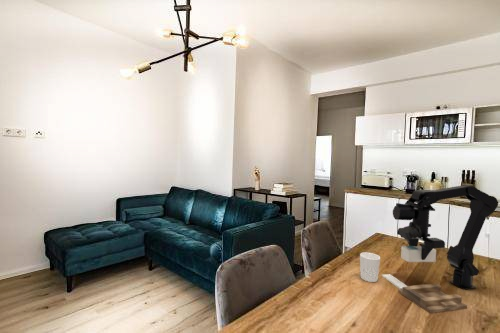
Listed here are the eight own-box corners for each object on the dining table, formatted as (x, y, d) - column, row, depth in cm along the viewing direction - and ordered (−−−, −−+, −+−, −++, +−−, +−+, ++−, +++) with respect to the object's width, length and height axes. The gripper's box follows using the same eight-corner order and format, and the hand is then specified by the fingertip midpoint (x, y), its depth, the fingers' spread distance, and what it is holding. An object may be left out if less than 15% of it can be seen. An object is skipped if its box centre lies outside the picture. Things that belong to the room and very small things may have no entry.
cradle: (431, 288, 107) (431, 281, 107) (466, 308, 93) (467, 300, 93) (398, 291, 103) (398, 284, 103) (430, 313, 90) (430, 304, 90)
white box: (427, 257, 114) (427, 245, 114) (435, 261, 109) (436, 249, 109) (400, 257, 113) (401, 245, 112) (408, 262, 108) (409, 249, 108)
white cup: (367, 283, 109) (368, 260, 109) (355, 275, 117) (356, 253, 116) (383, 282, 111) (384, 258, 111) (370, 273, 119) (371, 251, 118)
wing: (390, 276, 118) (390, 274, 118) (409, 290, 106) (410, 287, 106) (381, 277, 117) (381, 274, 117) (400, 291, 105) (400, 288, 105)
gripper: (387, 215, 118) (385, 250, 118) (422, 227, 99) (420, 267, 100) (409, 215, 120) (407, 249, 121) (447, 226, 102) (444, 266, 102)
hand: (418, 257), depth 111 cm, fingers closed on white box, 5 cm apart
